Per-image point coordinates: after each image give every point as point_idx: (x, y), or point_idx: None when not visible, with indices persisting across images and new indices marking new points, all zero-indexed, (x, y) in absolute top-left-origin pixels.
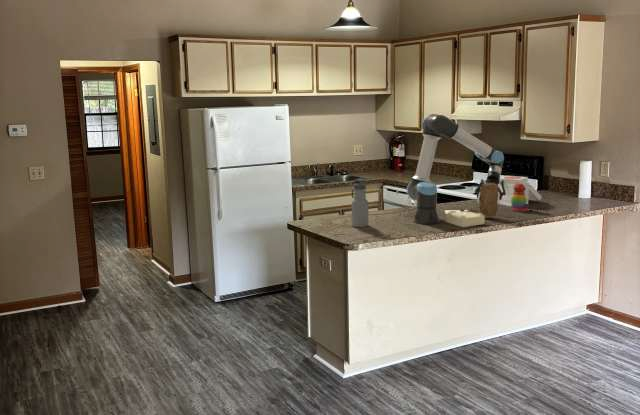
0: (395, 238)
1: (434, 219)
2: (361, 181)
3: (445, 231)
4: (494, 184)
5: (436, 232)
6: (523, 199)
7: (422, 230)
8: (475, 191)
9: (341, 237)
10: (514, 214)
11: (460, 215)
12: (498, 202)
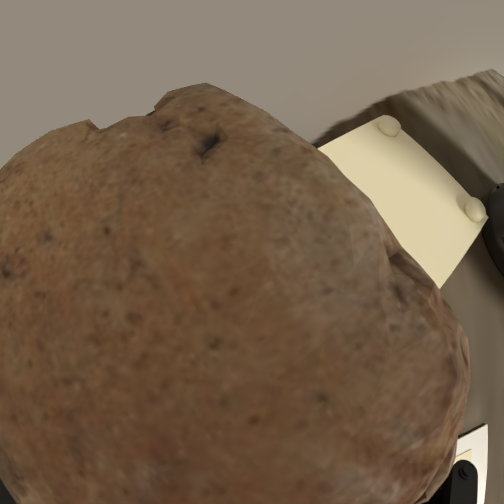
0: (468, 76)
1: (493, 189)
2: None
3: (405, 100)
4: (29, 178)
5: (423, 95)
6: None
7: (465, 120)
8: (459, 464)
9: None
10: None
11: (417, 176)
12: None
